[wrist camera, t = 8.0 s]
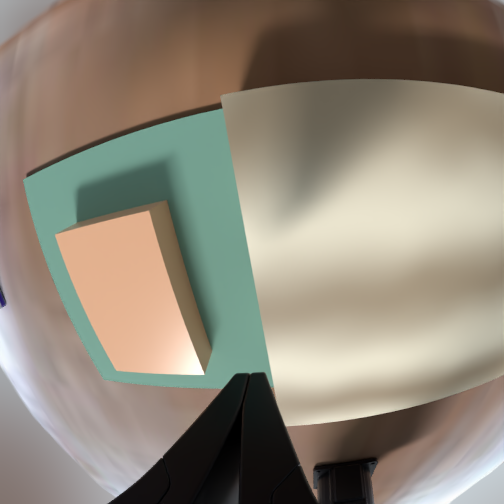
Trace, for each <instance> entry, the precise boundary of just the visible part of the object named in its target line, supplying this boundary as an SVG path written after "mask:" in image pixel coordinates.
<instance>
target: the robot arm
mask: <svg viewBox="0 0 504 504" xmlns="http://www.w3.org/2000/svg"><path fill="white" fill-rule="evenodd" d="M377 463H378V461H377V459H376V458H373V459H368V460H363V461H357V462H351V463H344V464H337V465H329V466H319V467H315V468H314V469H313V479H314V489H317V493H318V501H317V499H316V497H315V496H314V494H313V492H312V490H311V488H310V485H309V483H308V481H307V479H306V476H305V474H304V471H303V469H302V467H301V466H300V462H299V459H298V457H297V454H296V452H295V449H294V447H293V444H292V442H291V439H290V436H289V434H288V431H287V429H286V426H285V423H284V421H283V418H282V415H281V413H280V410H279V408H278V405H277V402H276V400H275V397H274V394H273V391H272V389H271V386H270V383H269V381H268V378H267V375H266V373H265V372H253V373H251V374H250V373H236V374H235V375H234V376H233V377H232V378H231V379H230V381H229V382H228V383H227V384H226V385H225V387H224V388H223V389H222V390H221V391H220V393H219V394H218V395H217V396H216V397H215V398H214V400H213V401H212V402H211V403H210V404H209V405H208V407H207V408H206V409H205V410H204V411H203V412H202V414H201V415H200V416H199V417H198V418H197V419H196V420H195V422H194V423H193V424H192V425H191V426H190V427H189V428H188V429H187V430H186V432H185V433H184V434H183V435H182V436H181V437H180V438H179V439H178V440H177V441H176V443H175V444H174V445H173V446H172V447H171V448H170V449H169V450H168V451H167V452H166V453H165V454H164V455H163V458H160V460H159V461H158V462H157V463H156V464H155V465H154V466H153V467H152V468H151V469H150V470H149V471H148V472H147V473H146V474H144V475H143V476H142V477H141V478H140V479H139V480H138V481H137V482H136V483H134V484H133V485H132V486H131V487H129V488H128V489H127V490H126V491H124V492H123V493H122V494H120V495H119V496H118V497H116V498H115V499H114V500H112V501H111V502H109V503H108V504H374V497H373V489H372V481H371V476H372V474H373V472H374V470H375V468H376V465H377Z"/></svg>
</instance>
